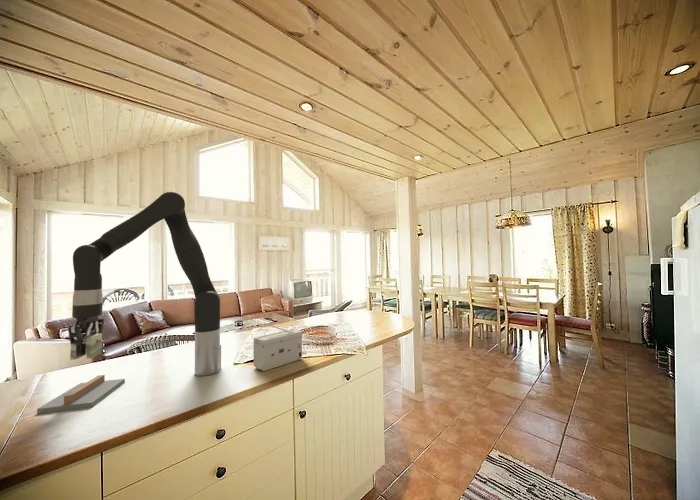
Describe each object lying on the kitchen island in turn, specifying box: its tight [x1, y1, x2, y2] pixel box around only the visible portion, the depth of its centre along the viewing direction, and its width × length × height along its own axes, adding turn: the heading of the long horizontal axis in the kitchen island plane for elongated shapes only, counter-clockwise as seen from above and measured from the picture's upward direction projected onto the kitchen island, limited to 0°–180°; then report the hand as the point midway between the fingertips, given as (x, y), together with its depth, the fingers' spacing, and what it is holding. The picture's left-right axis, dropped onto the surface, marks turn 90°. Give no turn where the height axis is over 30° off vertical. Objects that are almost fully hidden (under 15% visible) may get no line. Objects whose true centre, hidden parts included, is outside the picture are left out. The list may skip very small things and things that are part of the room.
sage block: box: [69, 332, 103, 361], centre depth 94 cm, size 7×5×7 cm
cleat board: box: [36, 374, 126, 415], centre depth 93 cm, size 14×18×4 cm
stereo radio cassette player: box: [253, 322, 303, 372], centre depth 121 cm, size 21×8×20 cm, turn 135°
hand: (86, 352), depth 94 cm, fingers closed on sage block, 5 cm apart
